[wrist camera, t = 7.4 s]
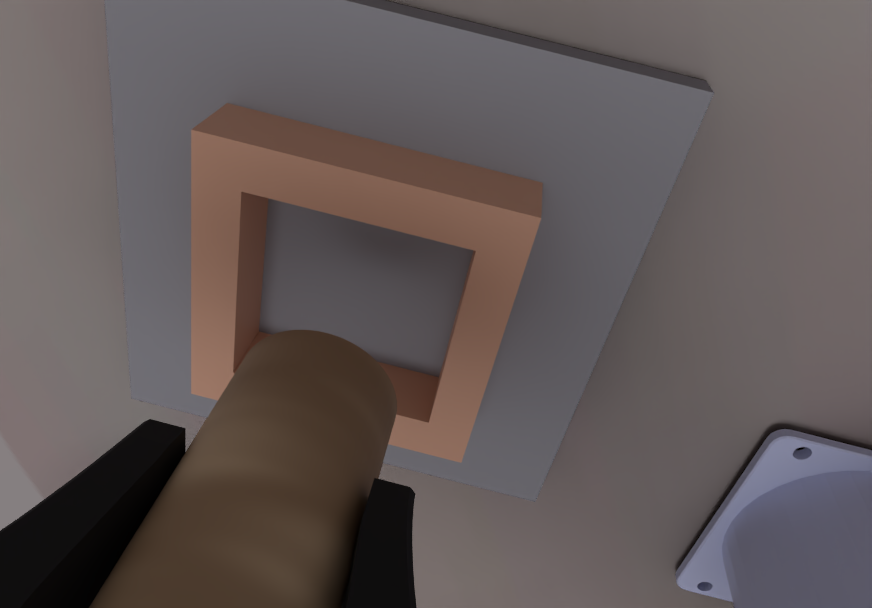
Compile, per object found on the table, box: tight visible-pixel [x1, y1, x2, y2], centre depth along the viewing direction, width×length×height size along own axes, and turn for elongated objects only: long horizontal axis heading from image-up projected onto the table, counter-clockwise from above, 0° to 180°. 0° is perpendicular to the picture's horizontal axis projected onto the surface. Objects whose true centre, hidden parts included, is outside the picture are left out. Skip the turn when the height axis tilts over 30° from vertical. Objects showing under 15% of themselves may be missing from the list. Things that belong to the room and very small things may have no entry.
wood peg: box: [89, 330, 397, 608], centre depth 11 cm, size 3×3×7 cm
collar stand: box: [104, 0, 714, 502], centre depth 19 cm, size 14×14×3 cm
